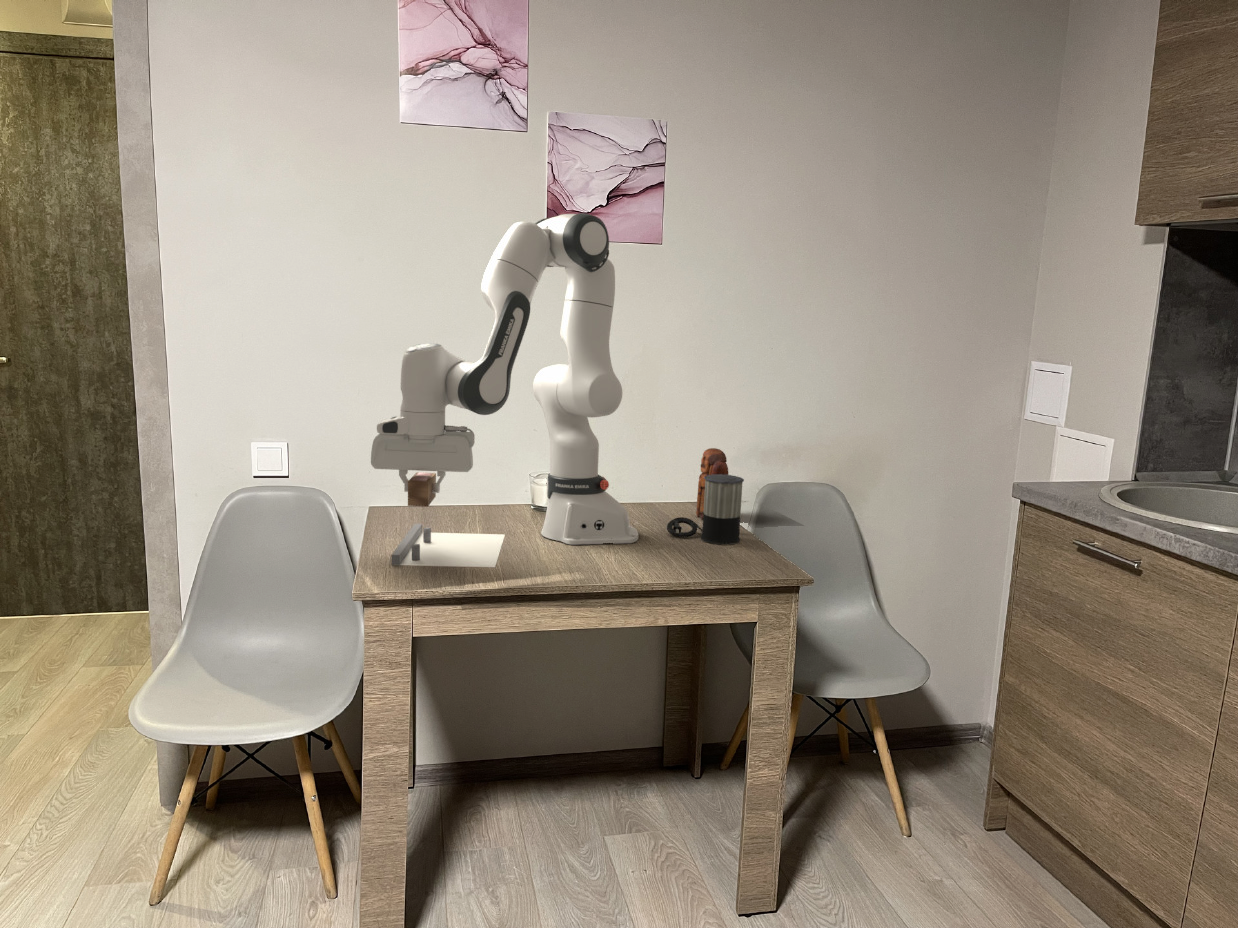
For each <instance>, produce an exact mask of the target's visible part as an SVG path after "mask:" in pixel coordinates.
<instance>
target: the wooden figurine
mask: <svg viewBox="0 0 1238 928" xmlns="http://www.w3.org/2000/svg"><path fill="white" fill-rule="evenodd" d="M700 462H701V464H700V472H701V473H700V475H699V476H698V477H699V478H698V481H697V482H698V483H697V495H696V496H697V497H696V509H695V510H696V513H695V514H696V517H697V516H699V517H698V518H700V520H702V521H703V513H704V495H705V479H704V477H705V476H707V475H717V474H722V475H729V466H728V463H727V456H726V454H725V452H724V451H723V450H721V449H720V448H717V447H711V448H707V449H705V450H704V451H703V453H702V457H701V460H700Z"/></svg>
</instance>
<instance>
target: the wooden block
mask: <svg viewBox="0 0 1238 928" xmlns="http://www.w3.org/2000/svg"><path fill="white" fill-rule="evenodd" d="M408 480H409V481H408V492H407V506H408V507H429V506H430V504H431V503H432V502H433V501H434V499H435V498H436V496H437V493H432V491H431V490H432V483H437V472H415V474H414V475H413V476H412V477H410V478H409V479H408Z"/></svg>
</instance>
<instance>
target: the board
mask: <svg viewBox="0 0 1238 928" xmlns="http://www.w3.org/2000/svg"><path fill="white" fill-rule="evenodd" d="M505 536H506V534H502V533H501V534H495V533H491V534H490V533H465V532H464V533H462V532H461V533H456V532H455V533H454V532H432V527H430V526H427V527H423V523H416V522H415V523H414V524H413V525H412V526H411V528H410V529H409V531H408V532H407V533H406V535H405V536H404V537H403V538H402V540H401V542H400V543H399V544H398V545H397V547H396V548H395V549H394V551H393V552H392V553H391V558H390V559H391V566H411V567H413V566H415V567H417V566H418V567H421V566H422V567H424V566H425V567H455V568H456V567H459V568H463V567H465V568H496V565H497V562H498V559H499V555H500V553H501V549H502V546H503V542H504V540H505V539H504V538H505Z"/></svg>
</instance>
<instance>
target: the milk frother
mask: <svg viewBox="0 0 1238 928" xmlns="http://www.w3.org/2000/svg"><path fill="white" fill-rule="evenodd" d="M704 479H705V495H704V513H703V520H702V528H701V527H700V526H699V525H698V523H696V522H695V521H693V519H690V518H687V517H683V516H682V517H675V518H672V519H671V520H670V521H669V522H668V523H667V524H666V530H667V532H668V533H669V534H670V535H672V536H674V537H680V538H689V537H692V536H694V535H696V533H697V532H698V530H699V531H700V532H701V536H700V540H702V541H703V542H705V541H706V542H705V543H708V542H709V544H713V543H717V544H716V545H721V544H729V545H734V544H733V543H736V544H738V543H740V542H741V537H740V536H741V535H740V534H741V529H740V527H741V525H740V524H741V511H742V509H741V508H742V497H743V496H742V495H743V482H744V481H745V479H744V478H743V477H740V476H738V475H737V476H736V475H733V474H728V475H722V474H717V475H707V476H705V477H704ZM681 524H685V525H688V526H690V527H691V530H690V531H689V530H688V531H686V532H682V529H683V528H682V526H681ZM739 541H740V542H739Z"/></svg>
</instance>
